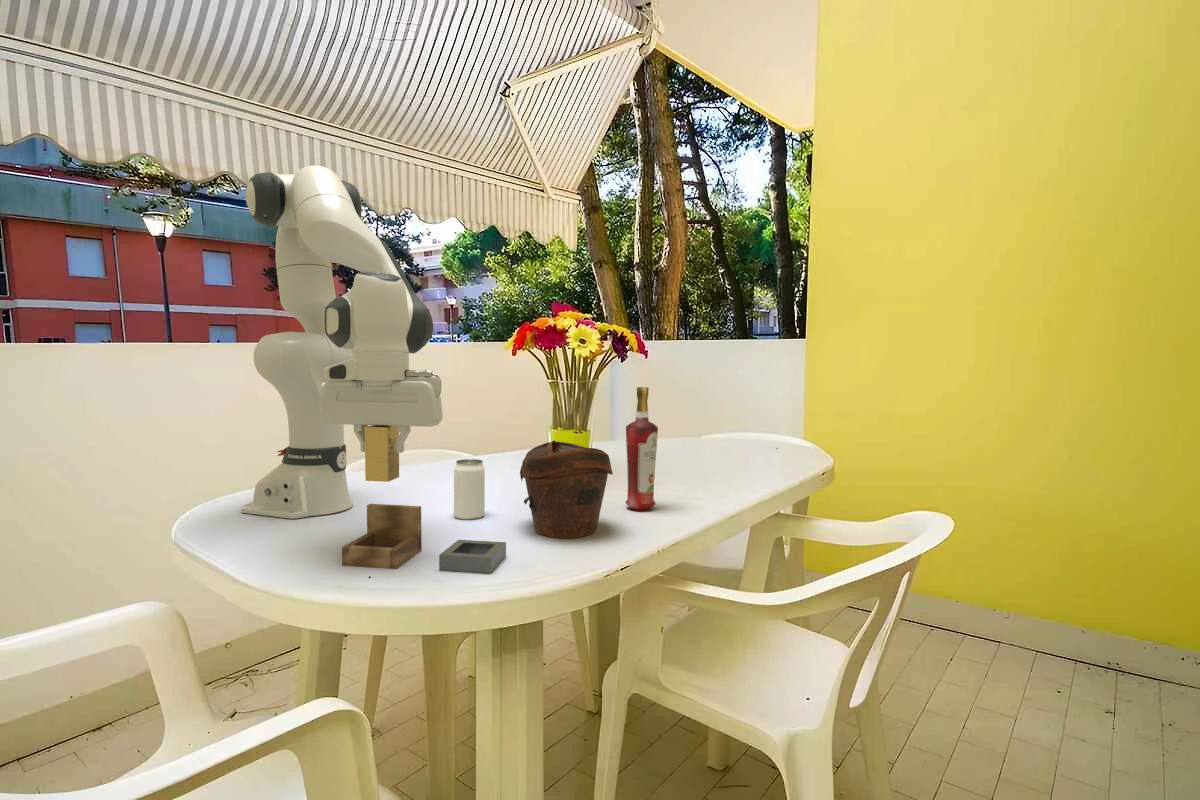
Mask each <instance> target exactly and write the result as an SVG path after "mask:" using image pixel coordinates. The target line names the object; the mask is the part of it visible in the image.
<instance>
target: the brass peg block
mask: <svg viewBox="0 0 1200 800" xmlns="http://www.w3.org/2000/svg"><path fill="white" fill-rule="evenodd" d="M399 435H400V432H397V426H386V425H368V426H367V427H365V452H364V461H365V462H364V463H365V464H364V466H365V467H364V471H365V474H364V475H365V481H366V482H384V483H387V482H392V481H393V480H396V479H399V478H400V453H392V452H391V449H392V447H391V442H395V441H397V439H398V437H399Z"/></svg>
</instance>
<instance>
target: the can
mask: <svg viewBox="0 0 1200 800" xmlns="http://www.w3.org/2000/svg"><path fill="white" fill-rule="evenodd" d="M483 462H484V461H483V460H481V459H477V458H475V459H474V458H467V459H466V458H464V459H459V460H456V461H455V465H454V468H453V516H454V517H455V518H456V519H457V520H464V521H473V520H479V519H482V518H483V516H484V515H485V506H486V505H485V502H486V501H485V499H486V497H485V496H486V495H485V492H486V491H485V489H486V488H485V487H486V486H485V485H486V481H485V480H486V478H485V477H486V474H485V472H486V470H485V465H484V464H483Z"/></svg>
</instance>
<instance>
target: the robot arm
mask: <svg viewBox="0 0 1200 800" xmlns="http://www.w3.org/2000/svg"><path fill="white" fill-rule="evenodd" d="M245 203H246V205H247V208H248V210H249V213H250V215H251V217H252V218H253V219H254V221H256V222H257V223H258V224H260V225H264V226H267V227H273V228H275V227H278V228H277V231H276V238H275V267H276V275H277V276H276V277H277V284H278V285H277V286H278V291H279V302H280V304H281V307H282V308H283V310H284V312H286V313H287V314H288V315H290V316H292V317H293V318H295V319H296V320H297V321H298V322H299V323H300V325H301V326H302V328H303V329H304V331H303V332H302V331H300V332H298V331H283V332H277V333H276V332H275V333H271V334H266V335H263V336H262V337H261V338H260V340H259V341H257V344H256V345H255V348H254V351H253V354H252V355H253V364H254V367H255V369H256V371H257V374H259V376H261V377H262V378H263V379H264V380H265V381H267V382H268V383H269V384H271V386H272V387H274V388H275V389H276V391H277V392H278V394H279V395H280V397H281V399H282V401H283V404H284V406H285V410H286V414H287V424H288V425H287V427H288V446H287V447H285V448H284V449H280V450H277V451H276V452H277V453H278V454H277V457H280V456H283V457H282V460H281V463H280V464H279V465H277V466H276V467H275V468H274V469H272V470H271V471H270V472H268V473H267V474H266V475H265V476H263V477H262V478H261V479H259V480H258V482H257V483H256V484H255V487H254V491H253V499H252V501H250V502H248V503H246V504H245V505H243V506H242V507H241V510H240V511H241V513H243V514H250V515H251V514H252V515H258V516H267V517H276V518H283V519H300V518H302V519H303V518H307V517H312V516H315V517H316V516H323V515H330V514H334V513H340V512H343V511H346V510H348V509H351V508H352V507H353V502H352V498H351V495H350V492H349V487H348V481H347V474H346V468H347V444H345V439H344V438H345V435H344V434H345V433H344V431H345V430H344V428H345V426H344V425H350V426H351V425H352V426H353V433H354V434H355V436H356V438H357V439H358V441H359V442H360V452H362V453H363V452H364V453H365V427H367V426H371V425H386V426H397V432H399V437H398V439H397V441H395V442H391V447H392V449H391V452H392V453H399V454H401V453H404V451H405V441H406V440H407V438H408V436H409V434H410V433H411V427H430V428H431V427H435V426H438V425H440V424H441V422H442V420H443V405H442V398H441V393H442V379H441V377H440V376H439V375H438V374H437V373H435V372H434V371H433V370H429V369H428V370H418V369H410V354H416V353H418V352H419V351H421V350H422V349H423V348H424V347H425V346H426V345H427V343H429V342H430V340H431V339H432V337H433V332H434V322H433V317H432V314H431V312H430V311H429V309H428V307H427V306H426V305H425V303H424V302H423V301H422V300H421V299H420V297H418V295H417V294H416V292H415V290H414V289H413V287H412V286H411V284H410V282H409V281H408V279H407V277H406V275H405V273H404V272H403V269H402V268H401V267H400V265H399V263H398V261H397V260H396V258H395V256H394V255H393V253H392V251H391V249H390V248H389V246H388V245H387V244H386V242H385V241H384V240H382V239H381V238H380V237H379V236H377V235H376V234H375V233H374V232H373V231H372V230H371V229H370V228H369V227H368V225H366V224H365V223H364V221H363V220H362V219H361V217H362V216H361V215H362V212H363V206H362V205H363V204H362V199H361V195H360V192H359V190H358V188H357V187H356V186H355V185H354V184H353V183H350V182H348V181H345V180H342V179H340V177H339V176H338V175H337V174H336V173H335V171H333V170H331V169H330V168H328V167H325V166H322V165H317V164H316V165H308V166H305V167H303V168H300V169H299V170H298V171H297V172H296V173H295V174H293V173H292V174H291V173H273V172H271V171H270V172H259V173H255V174H254V175H253V176H251V177H250V178H249V181H248V185H247V187H246V190H245ZM332 263H335V264H338V265H341V266H344V267H348V268H350V269H353V270H356V271H358V273H356V275H355V276H354V280H353V283H352V287H351V288H350V290H348V291H346V292H345V294H343V295H338V296H336V291H335V282H334V276H333V269H332ZM323 383H324V384H323Z"/></svg>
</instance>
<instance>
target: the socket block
mask: <svg viewBox="0 0 1200 800" xmlns="http://www.w3.org/2000/svg"><path fill="white" fill-rule="evenodd" d="M506 557H507V542H506V541H489V540H488V541H487V540H470V539H457V540H456V541H455V542H454V543H452V544H451V545H450V546H449V547H447V548H446V549H445V550H444V551H442V552H441V553H440V554H439V555H438V563H439V564H438V567H439V568H438V569H439V571H443V572H444V571H445V572H458V573H459V572H462V573H476V574H489V575H490V574H492V573H493V572H494V570H496V569H497V567H498V566H499V565H500V564H501V563H502V562H503V561H504V560H505V559H506Z"/></svg>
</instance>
